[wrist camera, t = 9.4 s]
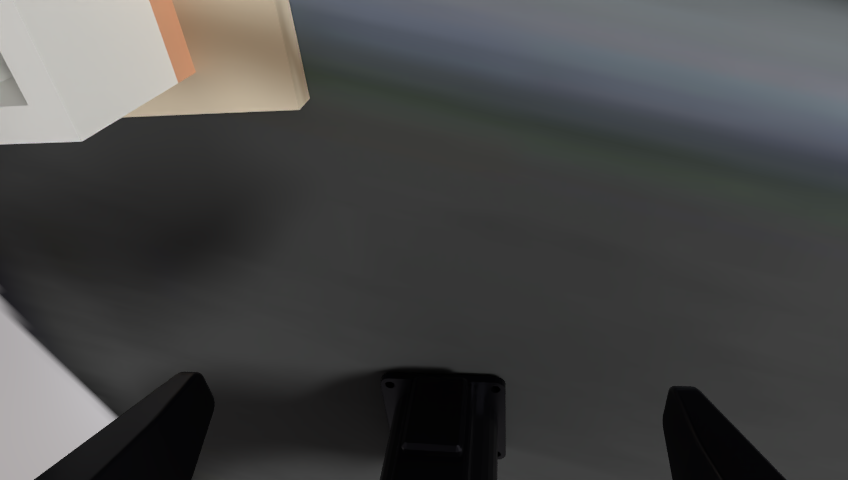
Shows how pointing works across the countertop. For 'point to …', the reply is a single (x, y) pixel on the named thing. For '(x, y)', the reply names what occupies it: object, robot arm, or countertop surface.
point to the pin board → (235, 60)
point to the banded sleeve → (83, 64)
